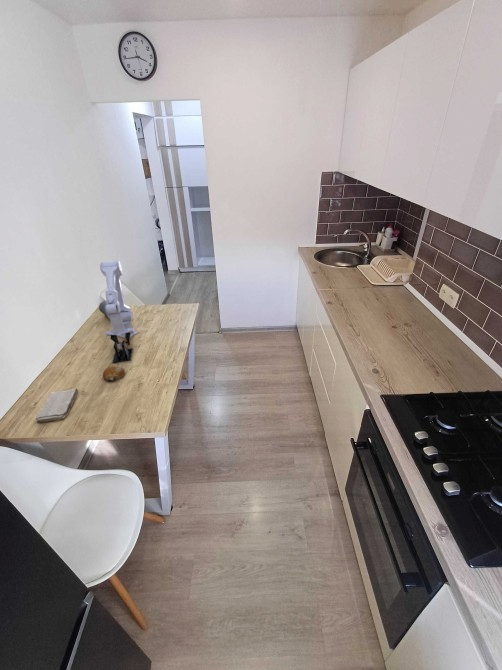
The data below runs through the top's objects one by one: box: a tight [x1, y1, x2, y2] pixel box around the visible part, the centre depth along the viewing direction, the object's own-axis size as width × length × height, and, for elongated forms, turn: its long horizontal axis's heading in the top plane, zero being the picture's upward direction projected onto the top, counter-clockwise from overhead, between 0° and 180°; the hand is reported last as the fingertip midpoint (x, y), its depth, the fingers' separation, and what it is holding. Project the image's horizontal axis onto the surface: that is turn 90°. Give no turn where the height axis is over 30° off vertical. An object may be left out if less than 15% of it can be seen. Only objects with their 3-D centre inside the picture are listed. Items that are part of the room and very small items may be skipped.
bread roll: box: [102, 363, 126, 383], centre depth 155 cm, size 10×10×8 cm
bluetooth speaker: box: [98, 300, 126, 318], centre depth 205 cm, size 23×9×10 cm, turn 49°
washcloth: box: [35, 388, 79, 423], centre depth 139 cm, size 12×18×3 cm, turn 9°
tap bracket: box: [112, 340, 134, 364], centre depth 168 cm, size 11×9×9 cm
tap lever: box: [117, 340, 128, 350], centre depth 170 cm, size 10×5×2 cm, turn 12°
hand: (123, 345), depth 175 cm, fingers closed on tap lever, 5 cm apart
